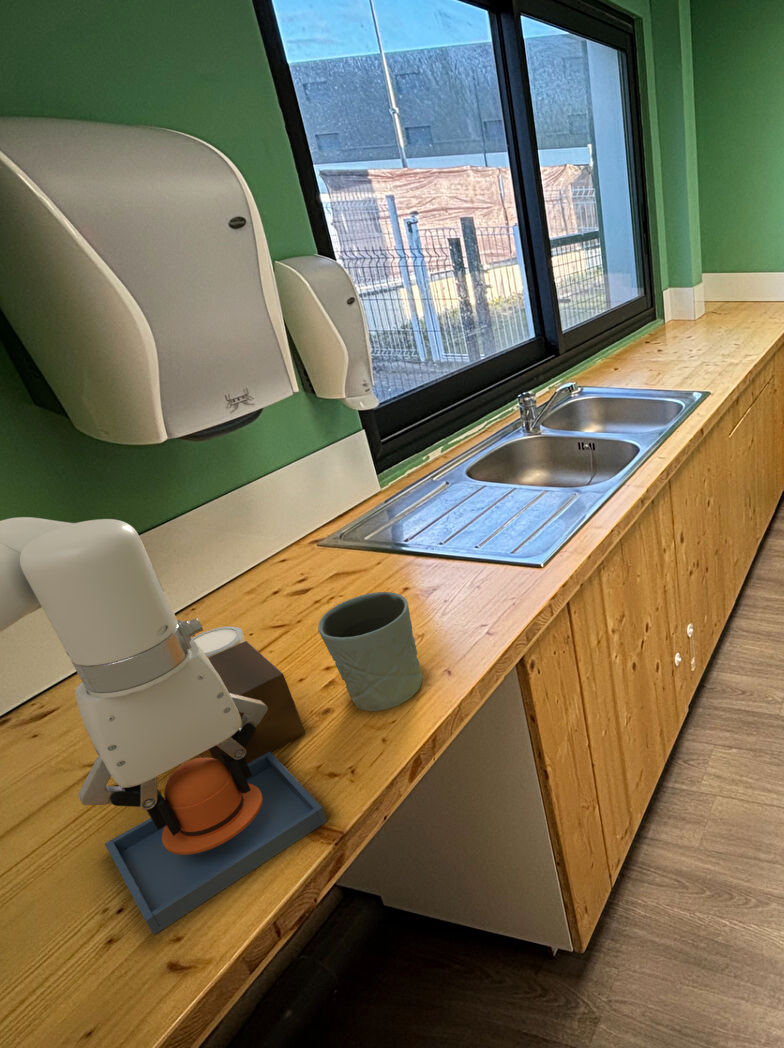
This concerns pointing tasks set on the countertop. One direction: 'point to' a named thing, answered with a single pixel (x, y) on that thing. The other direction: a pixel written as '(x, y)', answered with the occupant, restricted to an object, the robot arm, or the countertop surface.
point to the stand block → (262, 682)
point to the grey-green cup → (373, 649)
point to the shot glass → (219, 639)
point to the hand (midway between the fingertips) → (207, 804)
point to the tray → (214, 849)
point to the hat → (207, 806)
